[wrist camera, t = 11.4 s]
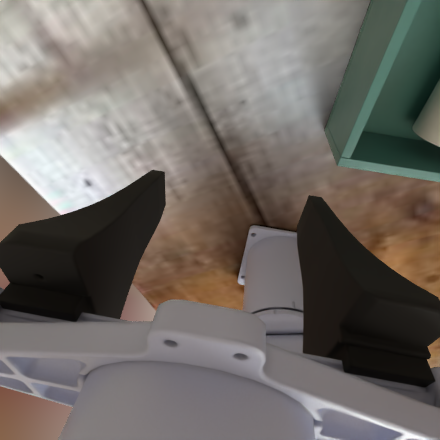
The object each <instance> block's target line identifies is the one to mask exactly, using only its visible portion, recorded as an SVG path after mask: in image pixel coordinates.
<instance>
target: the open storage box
mask: <svg viewBox="0 0 440 440" xmlns="http://www.w3.org/2000/svg"><path fill="white" fill-rule="evenodd" d="M439 79H440V0H371V2H370V5H369V8H368V11H367V13H366V16H365V19H364V22H363V25H362V27H361V30H360V33H359V36H358V38H357V41H356V44H355V47H354V50H353V52H352V55H351V58H350V61H349V64H348V66H347V69H346V72H345V75H344V77H343V80H342V83H341V86H340V89H339V91H338V94H337V97H336V100H335V103H334V105H333V108H332V111H331V114H330V116H329V119H328V122H327V125H326V128H325V130H324V131H325V134H326V137H327V139H328V142H329V145H330V148H331V150H332V153H333V156H334V159H335V161H336V164H337V166H342V167H348V168H355V169H361V170H367V171H374V172H380V173H386V174H392V175H399V176H405V177H411V178H417V179H424V180H430V181H436V182H440V147H439V146H437V145H434V144H432V143H430V142H428V141H426V140H424V139H423V138H421V137H420V136H418V135H417V134H416V133H415V132H414V131H413V128H412V127H413V125H414V123H415V121H416V120H417V118H418V116H419V114H420V113H421V111H422V109H423V107H424V106H425V104H426V102H427V100H428V98H429V97H430V95H431V93H432V91H433V90H434V88H435V86H436V84H437V83H438V81H439Z"/></svg>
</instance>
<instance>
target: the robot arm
mask: <svg viewBox="0 0 440 440" xmlns="http://www.w3.org/2000/svg"><path fill="white" fill-rule="evenodd" d="M165 205H166V201H165V172H163V171H156V170H152V171H150V172H148V173H147V174H145V175H144V176H142V177H141V178H139V179H138V180H136V181H135V182H133V183H132V184H130V185H128V186H127V187H125V188H124V189H122V190H120V191H118V192H117V193H115V194H113V195H111V196H109V197H107V198H105V199H103V200H101V201H99V202H97V203H95V204H92V205H90V206H87V207H84V208H82V209H79V210H76V211H73V212H70V213H67V214H64V215H60V216H57V217H53V218H49V219H45V220H40V221H35V222H30V223H25V224H19V225H18V226H17V227H16V228H15V229H14V230H13V231H12V232H11V233H10V234H9V235H8V236H7V237H5V238H4V239H3V240H2V241H1V242H0V268H1V269H2V271H3V272H4V274H5V276H6V277H7V278H8V280H9V282H10V284H9V285H8V286H7V287H6V288H5V289H2V288H0V386H1V387H5V388H9V389H12V390H16V391H20V392H23V393H26V394H30V395H33V396H37V397H40V398H44V399H47V400H50V401H54V402H57V403H61V404H65V405H68V406H71V407H73V408H72V410H71V413H70V415H69V417H68V419H67V421H66V424H65V425H64V427H63V430H62V432H61V434H60V436H59V438H58V440H440V367H434V368H430V366H429V364H428V361H427V359H429V358H431V354H430V352H429V350H428V347H427V346H429V345H430V344H431V343H433V342H434V341H435V340H437V339H438V338H439V337H440V301H439V299H438V297H436V296H435V295H433V294H431V293H429V292H428V291H426V290H424V289H422V288H421V287H419V286H417V285H415V284H414V283H412V282H410V281H409V280H407V279H406V278H404V277H403V276H401V275H400V274H398V273H397V272H395V271H394V270H392V269H391V268H390V267H388V266H387V265H386V264H384V263H383V262H382V261H380V260H379V259H378V258H377V257H375V256H374V255H373V254H372V253H371V252H370V251H369V250H367V249H366V248H365V247H364V246H363V245H362V244H361V243H360V242H359V241H358V240H357V239H356V238H355V237H354V236H353V235H352V234H351V233H350V232H349V231H348V230H347V228H346V227H345V226H344V225H343V224H342V223H341V221H340V220H339V219H338V218H337V216H336V215H335V214H334V213H333V211H332V210H331V209H330V207H329V206H328V205H327V204H326V202H325V201H324V200H323V199H322V197H316V196H310V195H309V197H308V199H307V202H306V204H305V207H304V210H303V212H302V215H301V217H300V220H299V223H298V225H297V232H291V231H285V230H279V229H274V228H268V227H262V226H256V225H253V226H251V227H250V229H249V233H248V238H247V242H246V246H245V250H244V255H243V259H242V263H241V268H240V272H239V276H238V283H239V284H242V285H245V288H244V300H243V311H242V310H236V309H231V308H225V307H220V306H214V305H209V304H203V303H198V302H192V301H187V300H169V301H166V302H164V303H161V304H159V306H158V308H157V311H156V314H155V316H154V319H153V321H151V322H150V321H145V322H144V321H143V322H132V321H126V320H121V319H120V317H121V314H122V310H123V307H124V304H125V301H126V298H127V295H128V292H129V289H130V286H131V284H132V281H133V278H134V275H135V272H136V270H137V267H138V264H139V262H140V259H141V257H142V255H143V253H144V251H145V249H146V247H147V245H148V243H149V241H150V239H151V237H152V235H153V234H154V232H155V230H156V228H157V226H158V224H159V222H160V219H161V217H162V214H163V211H164V208H165ZM252 233H255V234H252Z"/></svg>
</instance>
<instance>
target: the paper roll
mask: <svg viewBox="0 0 440 440" xmlns="http://www.w3.org/2000/svg"><path fill="white" fill-rule="evenodd" d="M412 128H413V131H414V132H415V133H416V134H417V135H418V136H420V137H421V138H423V139H424V140H426V141H428V142H430V143H432V144H434V145H437V146H439V147H440V79H439V81H438V83H437V84H436V86H435V88H434V90H433V91H432V93H431V95H430V97H429V98H428V100H427V102H426V104H425V106H424V107H423V109H422V111H421V113H420V114H419V116H418V118H417V120H416V121H415V123H414V125H413V127H412Z"/></svg>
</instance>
